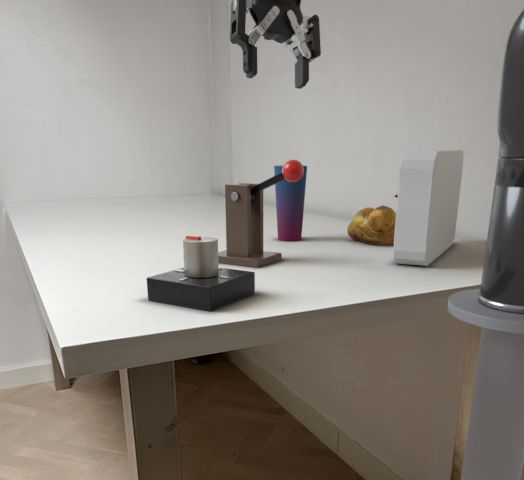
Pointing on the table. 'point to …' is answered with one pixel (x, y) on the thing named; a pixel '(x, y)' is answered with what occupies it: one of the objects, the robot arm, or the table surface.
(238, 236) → the brown lever stand
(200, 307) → the black square base
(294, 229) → the cup
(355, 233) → the bread roll
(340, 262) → the table surface
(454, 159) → the rounded white slab
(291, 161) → the lever
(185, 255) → the knob
